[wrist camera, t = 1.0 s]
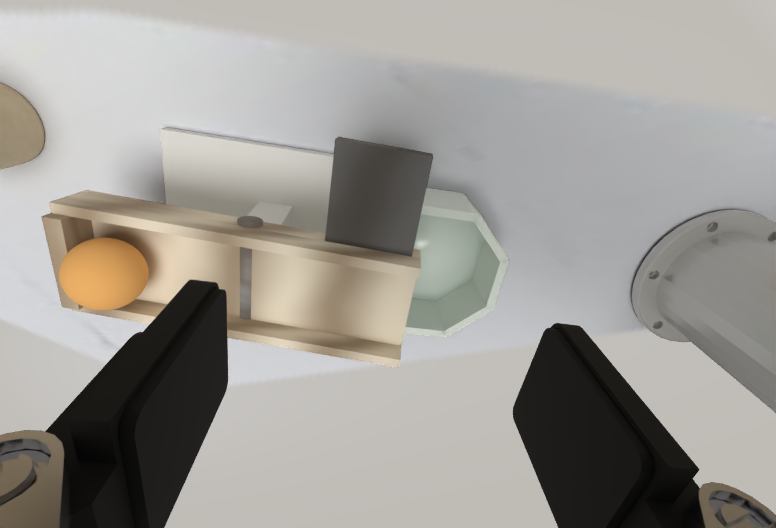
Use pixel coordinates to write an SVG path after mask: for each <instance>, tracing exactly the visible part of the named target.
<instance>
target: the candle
mask: <svg viewBox="0 0 776 528" xmlns="http://www.w3.org/2000/svg"><path fill="white" fill-rule="evenodd" d="M44 140H45V135H44V129H43V125H42V122H41V120H40V118H39V116H38V114H37V112H36V111H35V109H34V108H33V107H32V106H31V104H30V103H29V102H28V101H27V100H26V99H25V98H24V97H23V96H21V95H20V94H19V93H18V92H16V91H15V90H13V89H11V88H10V87H8V86H5V85H3V84H0V169H4V168H8V167H12V166H15V165H19V164H22V163H25V162H28V161H30V160H32V159H34V158H35V157H36V156H37V155H38V154H39V153H40V152H41V150H42V148H43V145H44Z"/></svg>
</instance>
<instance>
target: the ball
mask: <svg viewBox="0 0 776 528" xmlns="http://www.w3.org/2000/svg"><path fill="white" fill-rule="evenodd" d="M148 276H149V271H148V265H147V262H146V260H145V258H144V257H143V255H142V254H141V253H140V252H139V251H138V250H137V249H136V248H135V247H134V246H132V245H130V244H129V243H127V242H124V241H122V240H118V239H114V238H95V239H91V240H87V241H84V242H82V243H80V244H78V245H77V246H75V247H74V248H72V249H71V250H70V251H69V252H68V253H67V254H66V256H65V257H64V259H63V260H62V263H61V265H60V270H59V279H60V284H61V286H62V288H63V290H64V292H65V293H66V294H67V296H68V297H69V298H70V299H72V300H73V301H74V302H76V303H77V304H79V305H81V306H83V307H86V308H90V309H94V310H112V309H117V308H120V307H123V306H125V305H127V304H129V303H131V302H132V301H134V300H135V299H136V298H137V297H138V296H139V295H140V294H141V293H142V292H143V290H144V289H145V287H146V284H147V281H148Z"/></svg>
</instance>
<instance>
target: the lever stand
mask: <svg viewBox="0 0 776 528" xmlns="http://www.w3.org/2000/svg"><path fill="white" fill-rule="evenodd" d="M160 139H161V151H162V163H163V175H164V187H165V199H166V204H167V205H173V206H178V207H184V208H189V209H195V210H200V211H206V212H212V213H217V214H223V215H228V216H234V217H242V216H255V217H259V218H261V219H262V220H263V222H267V223H273V224H279V225H284V226H290V227H295V228H301V229H306V230H312V231H318V232H323V233H326V225H327V215H328V206H329V196H330V186H331V177H332V167H333V157H334V154H330V153H324V152H317V151H311V150H305V149H299V148H292V147H286V146H280V145H274V144H267V143H261V142H255V141H249V140H242V139H236V138H230V137H224V136H217V135H211V134H205V133H199V132H192V131H186V130H180V129H174V128H167V127H166V128H162V129H160Z"/></svg>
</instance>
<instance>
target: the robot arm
mask: <svg viewBox="0 0 776 528" xmlns="http://www.w3.org/2000/svg"><path fill="white" fill-rule="evenodd" d="M632 302H633V308H634V310H635V313H636V316H637V317H638V318H639V320H640V321H641V322H642V324H643V325H644V326H646V327H647V328H648V329H649V330H650V331H651V332H653V333H654V334H656V335H658V336H659V337H661V338H664V339H667V340H671V341H678V342H692V343H693V344H694V345H696V346H697V347H698V348H699V349H700V350H702V351H703V352H704V353H705V354H706V355H708V356H709V357H710V358H711V359H712V360H714V361H715V362H716V363H717V364H718V365H719V366H721V367H722V368H723V369H724V370H725V371H727V372H728V373H729V374H730V375H731V376H733V377H734V378H735V379H736V380H737V381H739V382H740V383H741V384H742V385H743V386H744V387H746V388H747V389H748V390H749V391H750V392H752V393H753V394H754V395H755V396H756V397H758V398H759V399H760V400H761V401H762V402H763V403H765V404H766V405H767V406H768V407H770V408H771V409H772V410H773V411H774V412H775V413H776V223H774V222H773V221H771V220H769V219H767V218H766V217H763V216H761V215H758V214H755V213H752V212H748V211H742V210H722V211H717V212H712V213H708V214H705V215H702V216H700V217H697V218H694V219H692V220H690V221H688V222H686V223H685V224H683V225H681V226H679V227H677V228H676V229H675V230H673V231H672V232H671V233H669V234H668V235H667V236H665V237H664V238H663V239H662V240H661V241H660V242H659V243H658V244H657V245H656V246H655V247H654V248H653V249H652V250H651V251H650V253H649V254H648V255H647V257H646V258H645V259H644V261H643V263H642V264H641V266H640V268H639V270H638V272H637V275H636V277H635V280H634V283H633V290H632ZM227 383H228V348H227V295H226V291H225V290H224V289H219V286H218V284H217V283H216V282H209V281H201V280H189V281H188V282H187V283H186V284H185V285H184V286H183V287H182V288H181V289H180V291H179V292H178V293H177V294H176V295H175V296H174V297H173V299H172V300H171V301H170V302H169V303H168V304H167V305H166V307H165V308H164V309H163V310H162V311H161V312H160V313H159V315H158V316H157V317H156V318H155V319H154V320H153V321H152V323H151V324H150V325H149V326H148V327H147V328H146V329H145V330H144V332H139V333H136V334H134V335H133V336H132V337H131V338H130V339H129V340H128V341H127V342H126V343H125V344H124V345H123V347H122V348H121V349H120V350H119V351H118V352H117V353H116V354H115V355H114V356H113V358H112V359H111V360H110V361H109V362H108V363H107V364H106V365H105V366H104V367H103V369H102V370H101V371H100V372H99V373H98V374H97V375H96V376H95V377H94V378H93V380H92V381H91V382H90V383H89V384H88V385H87V386H86V387H85V389H84V390H83V391H82V392H81V393H80V394H79V395H78V396H77V397H76V398H75V399H74V401H73V402H72V403H71V404H70V405H69V406H68V407H67V408H66V409H65V410H64V412H63V413H62V414H61V415H60V416H59V417H58V418H57V419H56V421H54V423H53V424H52V425H51V426H50V427H49V428H48V429H47V430H46V431H45V432H44V431H36V430H35V431H34V430H24V431H18V432H12V433H6V434H3V435H0V528H164V527H165V525H166V522H167V520H168V518H169V516H170V513H171V511H172V509H173V507H174V505H175V502H176V500H177V498H178V496H179V494H180V491H181V489H182V487H183V485H184V483H185V481H186V478H187V476H188V474H189V472H190V469H191V467H192V465H193V463H194V460H195V458H196V456H197V454H198V452H199V450H200V447H201V445H202V443H203V441H204V439H205V436H206V434H207V432H208V430H209V428H210V425H211V423H212V421H213V419H214V417H215V414H216V412H217V410H218V408H219V405H220V403H221V401H222V399H223V397H224V395H225V392H226V388H227ZM513 418H514V421H515V424H516V426H517V429H518V431H519V434H520V436H521V438H522V441H523V443H524V446H525V448H526V450H527V453H528V455H529V458H530V460H531V462H532V465H533V467H534V470H535V472H536V475H537V477H538V480H539V482H540V484H541V487H542V489H543V492H544V494H545V496H546V499H547V501H548V504H549V506H550V508H551V511H552V513H553V516H554V518H555V521H556V523H557V526H558V528H776V515H775V514H774V513H773V512H772V511H771V510H769V509H768V508H767V507H766V506H764V505H763V504H761V503H760V502H758V501H757V500H756V499H754V498H753V497H751V496H749V495H747V494H746V493H744V492H742V491H740V490H738V489H736V488H733V487H730V486H728V485H725V484H720V483H714V482H711V483H706V484H703V485H702V487H701V488H699V487H698V485H697V484H696V483H695V482H694V480H693V477H694V476H695V475H696V473H697V472H698V471H699V469H698V467H697V466H696V465H695V464H694V462H693V461H692V460H691V459H690V458H689V457H688V455H687V454H686V453H685V452H684V450H683V449H682V448H681V447H680V446H679V444H678V443H677V442H676V441H675V440H674V438H673V437H672V436H671V435H670V433H668V431H667V430H666V429H665V427H664V426H663V425H662V424H661V423H660V421H659V420H658V419H657V418H656V417H655V416H654V414H653V413H652V412H651V411H650V409H649V408H648V407H647V406H646V404H645V403H644V402H643V401H642V400H641V399H640V397H639V396H638V395H637V394H636V392H635V391H634V390H633V389H632V388H631V386H630V385H629V384H628V383H627V382H626V380H625V379H624V378H623V377H622V376H621V374H620V373H619V372H618V371H617V370H616V368H615V367H614V366H613V365H612V363H611V362H610V361H609V360H608V359H607V357H606V356H605V355H604V354H603V353H602V351H601V350H600V349H599V348H598V347H597V345H596V344H595V343H594V342H593V341H592V339H591V338H590V337H589V336H588V335H587V333H586V332H585V331H584V330H583V329H582V328H581V327H580V326H577V325H568V324H560V323H556V324H554V325H553V326H552V327H551V328H547V329H546V330H545V331H544V333H543V335H542V338H541V340H540V343H539V345H538V348H537V350H536V353H535V355H534V358H533V360H532V362H531V365H530V368H529V370H528V372H527V375H526V377H525V380H524V382H523V385H522V387H521V389H520V392H519V394H518V397H517V399H516V402H515V404H514V407H513Z"/></svg>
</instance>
